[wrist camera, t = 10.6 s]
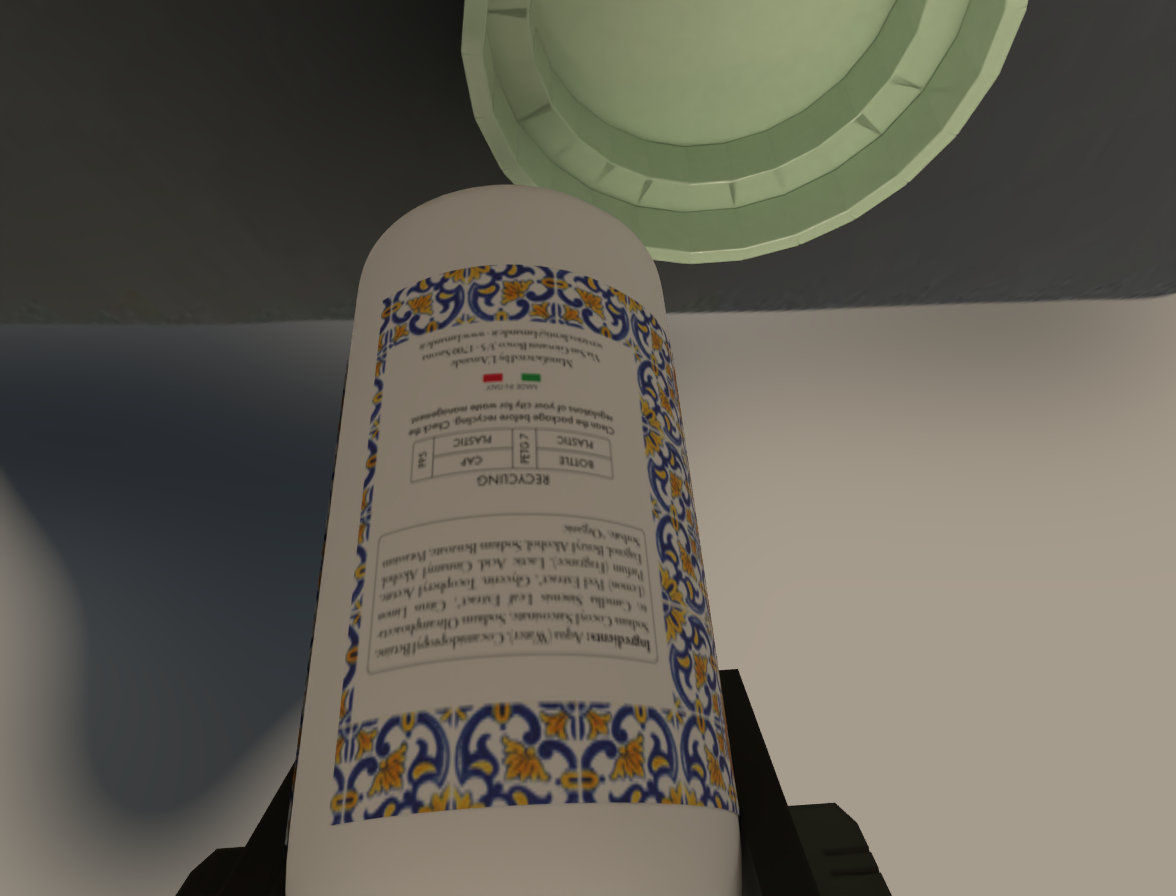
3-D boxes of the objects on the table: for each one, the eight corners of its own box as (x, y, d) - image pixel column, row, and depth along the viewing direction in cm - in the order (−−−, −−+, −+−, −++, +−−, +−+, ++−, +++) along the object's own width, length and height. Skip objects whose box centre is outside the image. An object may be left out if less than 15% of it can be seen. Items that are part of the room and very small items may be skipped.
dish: (567, 223, 32) (571, 305, 30) (366, -209, 20) (346, -127, 17) (959, 110, 29) (999, 193, 26) (1014, -508, 16) (1099, -454, 14)
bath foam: (558, 406, 23) (609, 1468, 12) (318, 327, 19) (98, 1722, 9) (721, 254, 18) (1037, 1790, 7) (441, 112, 14) (279, 2646, 4)
